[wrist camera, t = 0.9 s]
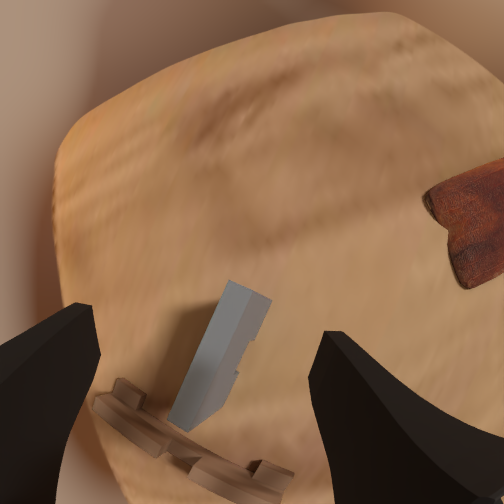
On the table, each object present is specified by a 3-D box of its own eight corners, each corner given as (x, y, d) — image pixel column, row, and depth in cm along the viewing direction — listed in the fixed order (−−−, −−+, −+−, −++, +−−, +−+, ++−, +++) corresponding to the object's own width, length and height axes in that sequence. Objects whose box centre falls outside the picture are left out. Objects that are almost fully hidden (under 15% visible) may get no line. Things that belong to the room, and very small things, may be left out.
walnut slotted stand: (294, 472, 19) (289, 492, 16) (268, 508, 19) (261, 528, 15) (123, 377, 25) (100, 381, 21) (110, 415, 24) (88, 422, 21)
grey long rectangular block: (222, 406, 22) (187, 432, 16) (206, 397, 23) (166, 419, 16) (272, 300, 23) (253, 290, 17) (254, 292, 24) (228, 279, 17)
